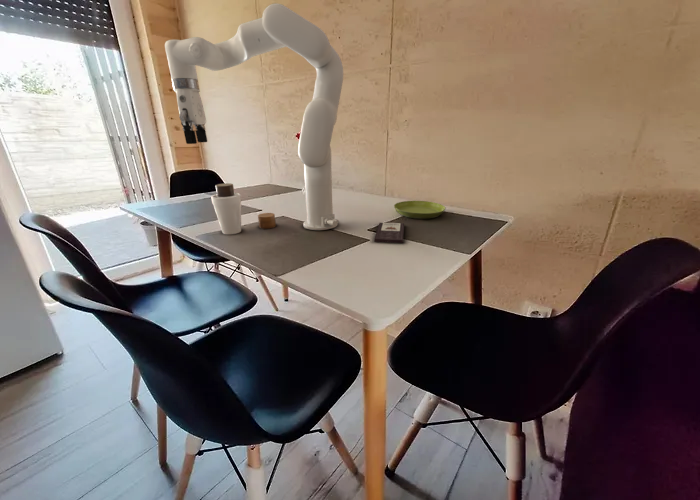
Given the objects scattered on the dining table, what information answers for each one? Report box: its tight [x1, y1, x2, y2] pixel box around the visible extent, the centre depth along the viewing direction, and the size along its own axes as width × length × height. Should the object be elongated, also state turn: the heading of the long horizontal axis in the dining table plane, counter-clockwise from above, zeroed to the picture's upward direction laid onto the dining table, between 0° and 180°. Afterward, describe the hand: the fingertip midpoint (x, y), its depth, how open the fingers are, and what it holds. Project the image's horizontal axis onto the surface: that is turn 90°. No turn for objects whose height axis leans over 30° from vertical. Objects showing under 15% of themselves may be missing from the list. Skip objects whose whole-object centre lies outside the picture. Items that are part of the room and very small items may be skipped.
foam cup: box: [210, 192, 242, 235], centre depth 109 cm, size 10×9×13 cm
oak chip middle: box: [257, 212, 276, 223], centre depth 115 cm, size 6×6×2 cm
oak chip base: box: [258, 220, 277, 230], centre depth 116 cm, size 6×6×2 cm
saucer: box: [393, 200, 446, 220], centre depth 128 cm, size 21×21×3 cm
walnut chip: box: [214, 182, 235, 197], centre depth 105 cm, size 6×6×4 cm
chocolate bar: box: [373, 222, 405, 244], centre depth 106 cm, size 9×1×18 cm
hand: (197, 142), depth 106 cm, fingers open, 9 cm apart
